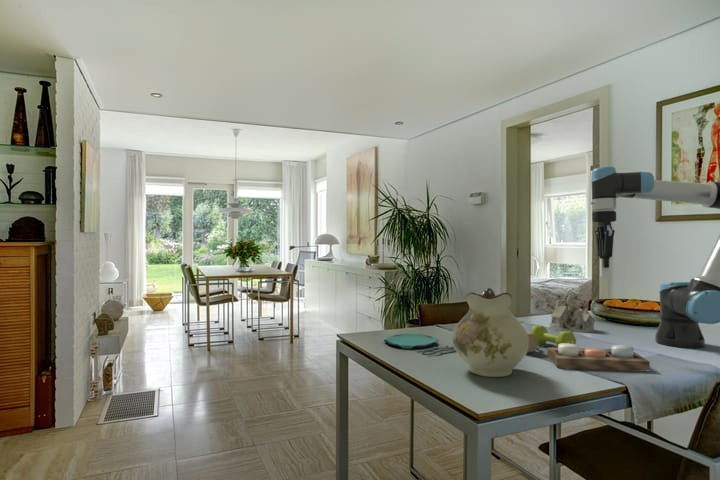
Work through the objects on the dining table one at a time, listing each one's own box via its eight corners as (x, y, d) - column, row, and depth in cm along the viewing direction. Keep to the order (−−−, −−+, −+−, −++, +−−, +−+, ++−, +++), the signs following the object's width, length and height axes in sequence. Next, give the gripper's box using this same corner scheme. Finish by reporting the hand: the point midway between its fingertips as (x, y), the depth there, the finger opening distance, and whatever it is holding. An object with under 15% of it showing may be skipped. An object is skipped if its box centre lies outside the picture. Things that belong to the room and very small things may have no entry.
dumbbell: (578, 351, 158) (578, 331, 158) (562, 354, 154) (562, 333, 154) (542, 342, 173) (542, 323, 173) (527, 344, 170) (526, 325, 170)
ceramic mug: (524, 355, 154) (523, 332, 154) (506, 349, 161) (506, 328, 161) (545, 351, 158) (545, 330, 158) (528, 347, 166) (528, 326, 166)
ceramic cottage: (544, 326, 202) (546, 293, 202) (577, 326, 205) (579, 294, 204) (564, 335, 187) (566, 300, 186) (599, 335, 189) (602, 300, 189)
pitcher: (484, 386, 121) (483, 295, 121) (436, 365, 142) (436, 288, 143) (546, 376, 130) (544, 291, 130) (492, 358, 151) (491, 285, 152)
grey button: (629, 357, 143) (628, 345, 143) (636, 362, 137) (636, 349, 137) (608, 356, 144) (608, 344, 144) (615, 361, 138) (615, 349, 138)
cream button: (575, 355, 146) (575, 343, 146) (581, 360, 140) (580, 347, 140) (556, 355, 147) (556, 343, 147) (560, 359, 141) (560, 347, 141)
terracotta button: (602, 360, 144) (602, 348, 144) (608, 365, 139) (608, 352, 139) (582, 359, 146) (582, 347, 146) (587, 364, 140) (587, 352, 140)
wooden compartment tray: (631, 359, 146) (630, 350, 146) (649, 371, 133) (649, 361, 133) (547, 356, 152) (547, 347, 152) (557, 367, 138) (557, 358, 138)
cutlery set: (416, 336, 187) (416, 330, 187) (465, 352, 161) (465, 346, 161) (376, 342, 178) (376, 337, 178) (421, 361, 151) (421, 354, 151)
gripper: (587, 212, 165) (588, 275, 165) (598, 210, 152) (599, 278, 152) (609, 211, 164) (610, 275, 164) (622, 209, 151) (623, 278, 151)
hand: (605, 276), depth 158 cm, fingers closed
